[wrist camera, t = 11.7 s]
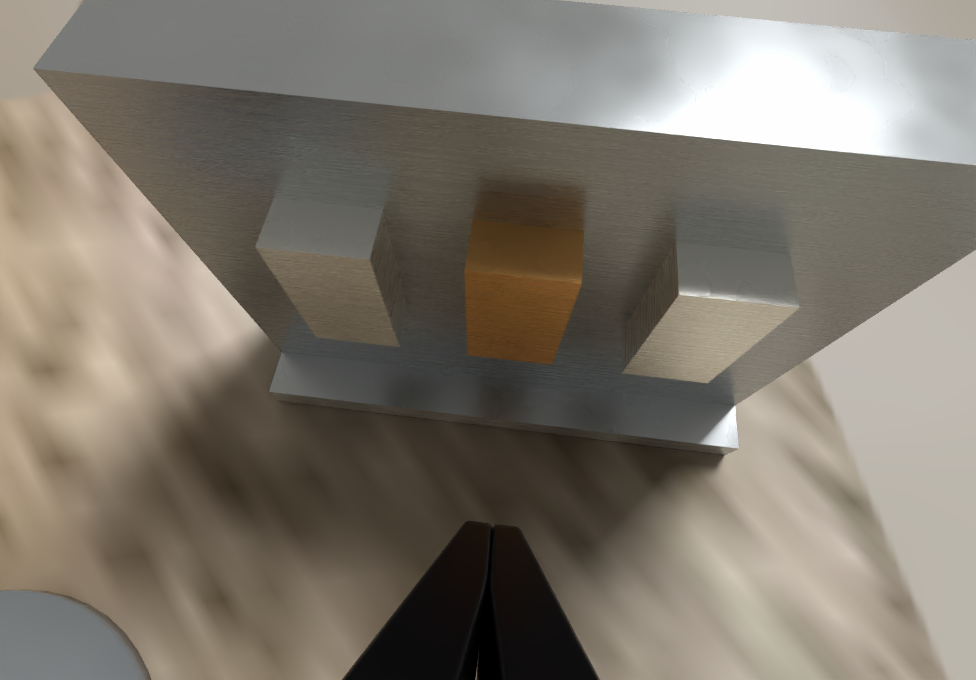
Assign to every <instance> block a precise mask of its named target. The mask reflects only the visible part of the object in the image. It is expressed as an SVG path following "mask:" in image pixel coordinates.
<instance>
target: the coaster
mask: <svg viewBox="0 0 976 680" xmlns="http://www.w3.org/2000/svg"><path fill="white" fill-rule="evenodd" d="M0 680H151V678H150V675H149V672H148V670H147V668H146V666H145V664H144V662H143V660H142V658H141V656H140V654H139V652H138V650H137V649H136V648H135V646H134V645H133V644H132V642H131V641H130V640H129V638H128V637H127V636H126V634H125V633H124V632H123V631H122V630H121V629H120V628H119V627H118V626H117V625H116V624H115V623H114V622H113V621H112V620H111V619H110V618H109V617H107V616H106V615H104V614H103V613H101V612H100V611H98V610H97V609H95V608H94V607H92V606H90V605H89V604H86V603H84V602H81V601H79V600H77V599H74V598H72V597H69V596H65V595H61V594H57V593H52V592H48V591H34V590H7V591H0Z"/></svg>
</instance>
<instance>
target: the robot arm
mask: <svg viewBox="0 0 976 680" xmlns="http://www.w3.org/2000/svg"><path fill="white" fill-rule="evenodd" d="M477 662H478V665H477ZM476 670H477V680H600V679H599V677H598V675H597V673H596V671H595V670H594V668H593V666H592V664H591V662H590V660H589V658H588V656H587V654H586V653H585V651H584V649H583V647H582V645H581V643H580V641H579V639H578V637H577V636H576V634H575V632H574V630H573V628H572V626H571V624H570V622H569V620H568V619H567V617H566V615H565V613H564V611H563V609H562V607H561V605H560V604H559V602H558V600H557V598H556V596H555V594H554V592H553V590H552V588H551V587H550V585H549V583H548V581H547V579H546V577H545V575H544V573H543V571H542V570H541V568H540V566H539V564H538V562H537V560H536V558H535V556H534V554H533V553H532V551H531V549H530V547H529V545H528V543H527V541H526V539H525V537H524V536H523V534H522V532H521V530H520V529H519V528H518V527H514V526H506V525H494V526H493V528H492V527H491V525H490V524H489V523H482V522H474V521H467V522H465V523H464V524H463V525H462V527H461V528H460V529H459V531H458V532H457V533H456V534H455V536H454V537H453V538H452V540H451V541H450V542H449V543H448V545H447V546H446V547H445V548H444V550H443V551H442V552H441V554H440V555H439V556H438V557H437V559H436V560H435V561H434V563H433V564H432V565H431V566H430V568H429V569H428V570H427V571H426V573H425V574H424V575H423V577H422V578H421V579H420V580H419V582H418V583H417V584H416V586H415V587H414V588H413V589H412V591H411V592H410V593H409V595H408V596H407V597H406V598H405V600H404V601H403V602H402V603H401V605H400V606H399V607H398V609H397V610H396V611H395V612H394V614H393V615H392V616H391V618H390V619H389V620H388V621H387V623H386V624H385V625H384V627H383V628H382V629H381V630H380V632H379V633H378V634H377V635H376V637H375V638H374V639H373V641H372V642H371V643H370V644H369V646H368V647H367V648H366V650H365V651H364V652H363V653H362V655H361V656H360V657H359V658H358V660H357V661H356V662H355V664H354V665H353V666H352V667H351V669H350V670H349V671H348V673H347V674H346V675H345V676H344V678H343V679H342V680H475V678H476Z"/></svg>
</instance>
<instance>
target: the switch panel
mask: <svg viewBox="0 0 976 680" xmlns="http://www.w3.org/2000/svg"><path fill="white" fill-rule="evenodd" d="M33 69H34V70H35V71H36V72H37V74H38V75H39V76H40V77H41V78H42V79H43V80H44V82H45V83H46V84H47V85H48V86H49V87H50V88H51V90H52V91H53V92H54V93H55V94H56V95H57V96H58V98H59V99H60V100H61V101H62V102H63V103H64V104H65V105H66V107H67V108H68V109H69V110H70V111H71V112H72V113H73V115H74V116H75V117H76V118H77V119H78V120H79V121H80V123H81V124H82V125H83V126H84V127H85V128H86V129H87V131H88V132H89V133H90V134H91V135H92V136H93V137H94V139H95V140H96V141H97V142H98V143H99V144H100V145H101V147H102V148H103V149H104V150H105V151H106V152H107V153H108V155H109V156H110V157H111V158H112V159H113V160H114V161H115V162H116V164H117V165H118V166H119V167H120V168H121V169H122V170H123V172H124V173H125V174H126V175H127V176H128V177H129V178H130V180H131V181H132V182H133V183H134V184H135V185H136V186H137V188H138V189H139V190H140V191H141V192H142V193H143V194H144V196H145V197H146V198H147V199H148V200H149V201H150V202H151V204H152V205H153V206H154V207H155V208H156V209H157V210H158V212H159V213H160V214H161V215H162V216H163V217H164V218H165V219H166V221H167V222H168V223H169V224H170V225H171V226H172V227H173V229H174V230H175V231H176V232H177V233H178V234H179V235H180V237H181V238H182V239H183V240H184V241H185V242H186V243H187V245H188V246H189V247H190V248H191V249H192V250H193V251H194V253H195V254H196V255H197V256H198V257H199V258H200V259H201V261H202V262H203V263H204V264H205V265H206V266H207V267H208V269H209V270H210V271H211V272H212V273H213V274H214V275H215V276H216V278H217V279H218V280H219V281H220V282H221V283H222V284H223V286H224V287H225V288H226V289H227V290H228V291H229V292H230V294H231V295H232V296H233V297H234V298H235V299H236V300H237V302H238V303H239V304H240V305H241V306H242V307H243V308H244V310H245V311H246V312H247V313H248V314H249V315H250V316H251V318H252V319H253V320H254V321H255V322H256V323H257V324H258V325H259V327H260V328H261V329H262V330H263V331H264V332H265V333H266V335H267V336H268V337H269V338H270V339H271V340H272V341H273V343H274V344H275V345H276V346H277V347H278V348H279V349H280V351H281V352H282V353H281V356H280V359H279V362H278V365H277V368H276V371H275V374H274V377H273V381H272V384H271V387H270V390H269V392H270V393H271V394H272V395H273V396H274V397H276V398H277V399H278V400H279V401H285V402H293V403H302V404H310V405H318V406H326V407H335V408H343V409H351V410H359V411H367V412H376V413H384V414H392V415H400V416H409V417H417V418H425V419H433V420H442V421H450V422H458V423H466V424H475V425H483V426H491V427H499V428H507V429H516V430H524V431H532V432H540V433H549V434H557V435H565V436H573V437H582V438H590V439H598V440H606V441H614V442H623V443H631V444H639V445H647V446H656V447H664V448H672V449H680V450H689V451H697V452H705V453H713V454H722V455H726V454H728V453H730V452H733V451H735V450H737V449H739V445H738V435H737V424H736V414H735V405H736V404H738V403H739V402H741V401H743V400H744V399H746V398H747V397H749V396H750V395H752V394H753V393H755V392H756V391H758V390H760V389H761V388H763V387H764V386H766V385H767V384H769V383H770V382H772V381H773V380H775V379H777V378H778V377H780V376H781V375H783V374H784V373H786V372H787V371H789V370H790V369H792V368H794V367H795V366H797V365H798V364H800V363H801V362H803V361H804V360H806V359H808V358H809V357H811V356H812V355H814V354H815V353H816V352H818V351H820V350H821V349H823V348H824V347H826V346H828V345H829V344H831V343H832V342H834V341H835V340H837V339H838V338H840V337H841V336H843V335H844V334H846V333H848V332H849V331H851V330H852V329H854V328H855V327H857V326H858V325H860V324H862V323H863V322H865V321H866V320H868V319H869V318H871V317H872V316H874V315H876V314H877V313H879V312H880V311H882V310H883V309H885V308H886V307H888V306H889V305H891V304H893V303H894V302H896V301H897V300H899V299H900V298H902V297H903V296H905V295H906V294H908V293H910V292H911V291H913V290H914V289H916V288H917V287H919V286H920V285H922V284H923V283H925V282H926V281H928V280H930V279H931V278H933V277H934V276H936V275H937V274H939V273H940V272H942V271H943V270H945V269H946V268H948V267H950V266H951V265H953V264H954V263H956V262H957V261H959V260H961V259H962V258H964V257H965V256H967V255H968V254H970V253H971V252H973V251H974V250H976V40H968V39H959V38H948V37H938V36H927V35H916V34H906V33H896V32H885V31H875V30H864V29H854V28H844V27H833V26H822V25H812V24H802V23H791V22H780V21H770V20H759V19H750V18H739V17H729V16H718V15H707V14H696V13H687V12H676V11H665V10H655V9H645V8H635V7H624V6H613V5H603V4H592V3H582V2H572V1H560V0H84V1H83V3H82V4H81V5H80V7H79V8H78V9H77V11H76V12H75V13H74V15H73V16H72V17H71V19H70V20H69V21H68V23H67V24H66V25H65V27H64V28H63V29H62V31H61V32H60V33H59V34H58V36H57V37H56V39H55V40H54V41H53V43H52V44H51V45H50V46H49V48H48V49H47V50H46V52H45V53H44V54H43V56H42V57H41V58H40V60H39V61H38V62H37V64H36V65H35V66H34V68H33Z"/></svg>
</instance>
